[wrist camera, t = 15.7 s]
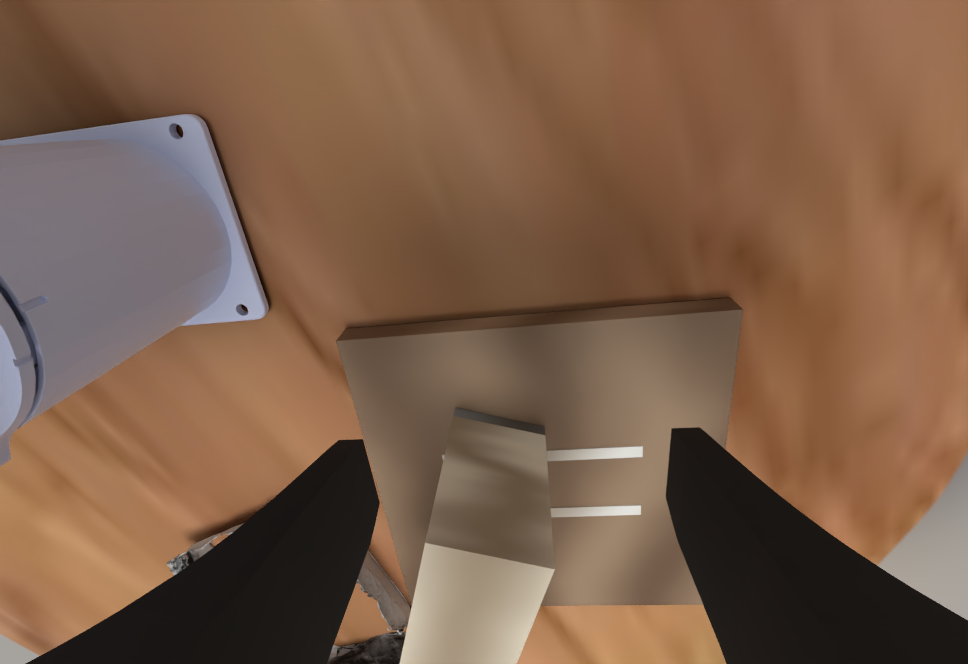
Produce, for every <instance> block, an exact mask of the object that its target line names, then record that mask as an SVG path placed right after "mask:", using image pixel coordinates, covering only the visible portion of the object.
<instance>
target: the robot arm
mask: <svg viewBox="0 0 968 664" xmlns="http://www.w3.org/2000/svg"><path fill="white" fill-rule="evenodd" d="M177 124H178V125H179V126H181V128H182V130H183V137H180V136H179V135H178V133H177V131H176V127H177ZM241 304H242V305H244V306H246V307H247V309H248V312H246V311H244V310H243V309H242V307H241ZM268 310H269V307H268V303H267V300H266V297H265V294H264V291H263V288H262V285H261V282H260V279H259V276H258V273H257V270H256V268H255V265H254V262H253V259H252V256H251V253H250V250H249V247H248V244H247V241H246V238H245V235H244V232H243V230H242V227H241V224H240V221H239V218H238V215H237V212H236V209H235V206H234V203H233V200H232V197H231V194H230V192H229V189H228V186H227V183H226V180H225V177H224V174H223V171H222V168H221V165H220V162H219V159H218V156H217V153H216V151H215V148H214V145H213V142H212V139H211V136H210V133H209V130H208V127H207V125H206V123H205V122H204V121H203V120H202V119H201V118H200V117H199V116H197V115H194V114H182V115H175V116H168V117H161V118H154V119H147V120H140V121H133V122H126V123H119V124H112V125H105V126H98V127H91V128H84V129H78V130H71V131H64V132H57V133H50V134H43V135H36V136H29V137H22V138H15V139H8V140H1V141H0V466H1V465H3V464H4V463H6V462H7V461H9V460H10V459H11V454H10V449H9V442H10V438H11V436H12V434H13V433H14V431H15V430H16V429H18V428H20V427H21V426H23V425H25V424H26V423H28V422H29V421H31V420H32V419H34V418H36V417H37V416H39V415H40V414H42V413H43V412H45V411H47V410H48V409H50V408H51V407H53V406H54V405H56V404H58V403H59V402H61V401H62V400H64V399H65V398H67V397H69V396H70V395H72V394H73V393H75V392H76V391H78V390H80V389H81V388H83V387H84V386H86V385H87V384H89V383H91V382H92V381H94V380H95V379H97V378H98V377H100V376H102V375H103V374H105V373H106V372H108V371H109V370H111V369H113V368H114V367H116V366H117V365H119V364H120V363H122V362H124V361H125V360H127V359H128V358H130V357H131V356H133V355H135V354H136V353H138V352H139V351H141V350H142V349H144V348H146V347H147V346H149V345H150V344H152V343H153V342H155V341H157V340H158V339H160V338H161V337H163V336H164V335H166V334H168V333H169V332H171V331H172V330H174V329H175V328H177V327H179V326H186V325H198V324H209V323H221V322H233V321H245V320H257V319H261V318H262V317H264V316H265V315H266V314H267V313H268ZM666 500H667V504H668V508H669V512H670V516H671V519H672V523H673V526H674V530H675V534H676V537H677V540H678V543H679V546H680V548H681V551H682V553H683V556H684V558H685V561H686V563H687V566H688V568H689V571H690V573H691V576H692V578H693V581H694V583H695V585H696V588H697V590H698V593H699V595H700V598H701V600H702V603H703V605H704V608H705V610H706V612H707V615H708V617H709V620H710V622H711V625H712V627H713V630H714V632H715V634H716V637H717V639H718V642H719V644H720V647H721V650H722V652H723V655H724V658H725V661H726V663H727V664H968V620H966V619H964V618H962V617H961V616H959V615H957V614H955V613H954V612H952V611H950V610H948V609H947V608H945V607H944V606H942V605H940V604H938V603H937V602H935V601H933V600H932V599H930V598H928V597H927V596H925V595H923V594H921V593H920V592H918V591H916V590H915V589H913V588H911V587H910V586H908V585H906V584H905V583H903V582H902V581H900V580H898V579H897V578H895V577H894V576H892V575H890V574H889V573H887V572H886V571H884V570H883V569H881V568H880V567H878V566H877V565H875V564H874V563H872V562H871V561H869V560H868V559H866V558H865V557H863V556H862V555H860V554H859V553H857V552H856V551H854V550H853V549H851V548H850V547H848V546H847V545H845V544H844V543H842V542H841V541H839V540H838V539H837V538H835V537H834V536H832V535H831V534H829V533H828V532H827V531H825V530H824V529H823V528H821V527H820V526H819V525H817V524H816V523H815V522H813V521H812V520H811V519H809V518H808V517H807V516H805V515H804V514H803V513H801V512H800V511H799V510H797V509H796V508H795V507H793V506H792V505H791V504H790V503H788V502H787V501H786V500H784V499H783V498H782V497H781V496H779V495H778V494H777V493H776V492H774V491H773V490H772V489H771V488H770V487H768V486H767V485H766V484H765V483H764V482H762V481H761V480H760V479H759V478H757V477H756V476H755V475H754V474H753V473H752V472H750V471H749V470H748V469H747V468H746V467H745V466H743V465H742V464H741V463H740V462H739V461H738V460H737V459H735V458H734V457H733V456H732V455H731V454H730V453H729V452H727V451H726V450H725V449H724V448H723V447H722V446H721V445H720V444H718V443H717V442H716V441H715V440H714V439H713V438H712V437H711V436H709V435H708V434H707V433H706V432H705V431H704V430H702V429H701V428H700V427H694V428H672V429H671V440H670V452H669V463H668V475H667V486H666ZM379 503H380V502H379V499H378V495H377V491H376V487H375V483H374V480H373V476H372V472H371V468H370V465H369V461H368V457H367V453H366V449H365V446H364V442H363V439H360V440H339V441H337V442H336V443H335V444H334V445H333V446H331V447H330V448H329V449H328V450H327V451H326V452H325V453H323V454H322V455H321V456H320V457H319V458H318V459H317V460H316V461H315V462H314V463H312V464H311V465H310V466H309V467H308V468H307V469H306V470H305V471H304V472H303V473H302V474H300V475H299V476H298V477H297V478H296V479H295V480H294V481H293V482H292V483H290V484H289V485H288V486H287V487H286V488H285V489H284V490H283V491H281V492H280V493H279V494H278V495H277V496H276V497H275V498H274V499H273V500H271V501H270V502H269V503H268V504H267V505H265V506H264V507H263V508H262V509H261V510H259V511H258V512H257V513H256V514H255V515H253V516H252V517H251V518H250V519H249V520H247V521H246V522H245V523H244V524H243V525H241V526H240V527H239V528H238V529H237V530H235V531H234V532H233V533H232V534H230V535H229V536H228V537H227V538H225V539H224V540H223V541H221V542H220V543H219V544H217V545H216V546H215V547H213V548H212V549H211V550H210V551H208V552H207V553H205V554H204V555H203V556H201V557H200V558H198V559H197V560H196V561H194V562H193V563H191V564H190V565H189V566H187V567H186V568H185V569H183V570H182V571H180V572H179V573H177V574H176V575H174V576H173V577H171V578H170V579H168V580H167V581H165V582H164V583H162V584H161V585H159V586H157V587H156V588H154V589H153V590H151V591H150V592H148V593H147V594H145V595H143V596H142V597H140V598H139V599H137V600H136V601H134V602H133V603H131V604H129V605H128V606H126V607H125V608H123V609H122V610H120V611H118V612H117V613H115V614H113V615H112V616H110V617H108V618H107V619H105V620H103V621H102V622H100V623H98V624H96V625H95V626H93V627H91V628H90V629H88V630H86V631H85V632H83V633H81V634H79V635H77V636H76V637H74V638H72V639H70V640H68V641H67V642H65V643H63V644H61V645H59V646H58V647H56V648H54V649H52V650H50V651H49V652H47V653H45V654H43V655H41V656H39V657H37V658H36V659H34V660H32V661H30V662H28V663H26V664H327V663H328V660H329V657H330V654H331V651H332V648H333V645H334V642H335V639H336V636H337V633H338V630H339V628H340V625H341V622H342V620H343V617H344V614H345V612H346V609H347V606H348V603H349V601H350V598H351V595H352V593H353V590H354V587H355V584H356V582H357V579H358V576H359V574H360V571H361V568H362V565H363V562H364V560H365V557H366V554H367V551H368V548H369V546H370V542H371V538H372V534H373V530H374V526H375V522H376V517H377V512H378V508H379Z"/></svg>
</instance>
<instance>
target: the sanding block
mask: <svg viewBox="0 0 968 664" xmlns="http://www.w3.org/2000/svg"><path fill="white" fill-rule="evenodd" d="M554 571H555V564H554V550H553V536H552V522H551V508H550V493H549V479H548V465H547V451H546V437H545V427H544V426H539V425H534V424H529V423H525V422H520V421H515V420H511V419H506V418H501V417H496V416H492V415H487V414H482V413H477V412H473V411H468V410H463V409H459V408H455V411H454V415H453V420H452V424H451V429H450V433H449V438H448V442H447V447H446V451H445V456H444V460H443V465H442V469H441V474H440V478H439V483H438V487H437V492H436V496H435V501H434V505H433V510H432V514H431V519H430V523H429V528H428V532H427V537H426V541H425V546H424V550H423V555H422V560H421V565H420V569H419V574H418V579H417V584H416V588H415V593H414V598H413V603H412V607H411V612H410V617H409V622H408V626H407V631H406V636H405V641H404V645H403V650H402V655H401V659H400V664H517V662H518V659H519V657H520V654H521V652H522V649H523V647H524V644H525V642H526V639H527V637H528V634H529V632H530V630H531V627H532V625H533V622H534V620H535V617H536V615H537V612H538V610H539V607H540V605H541V602H542V600H543V598H544V595H545V593H546V590H547V588H548V585H549V583H550V580H551V578H552V575H553V573H554Z"/></svg>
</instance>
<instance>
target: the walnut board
mask: <svg viewBox="0 0 968 664" xmlns="http://www.w3.org/2000/svg"><path fill="white" fill-rule="evenodd" d="M742 313H743V309H742V308H741V307H740V306H739V305H738V304H736V303H735V302H734V301H733V300H732V299H731V298H721V299H708V300H696V301H684V302H671V303H659V304H646V305H634V306H621V307H609V308H597V309H584V310H572V311H559V312H547V313H535V314H522V315H510V316H497V317H485V318H473V319H460V320H448V321H435V322H423V323H411V324H398V325H386V326H373V327H361V328H348V329H345V330H344V332H343V333H342V334H341V336H340V337H339V338H338V339H337V341H336V342H337V346H338V349H339V353H340V357H341V360H342V364H343V367H344V371H345V374H346V378H347V381H348V385H349V388H350V392H351V395H352V399H353V402H354V406H355V409H356V413H357V416H358V420H359V423H360V427H361V430H362V434H363V437H364V441H365V444H366V448H367V451H368V455H369V458H370V462H371V465H372V469H373V472H374V476H375V479H376V483H377V486H378V490H379V493H380V497H381V500H382V504H383V507H384V511H385V514H386V518H387V521H388V525H389V528H390V532H391V535H392V539H393V542H394V546H395V549H396V553H397V556H398V560H399V563H400V567H401V570H402V574H403V577H404V581H405V584H406V588H407V591H408V595H409V598H410V602H411V606H412V603H413V598H414V593H415V588H416V584H417V579H418V574H419V569H420V565H421V560H422V555H423V550H424V546H425V541H426V537H427V532H428V528H429V523H430V519H431V514H432V510H433V505H434V501H435V496H436V492H437V487H438V483H439V478H440V474H441V469H442V465H443V460H444V456H445V451H446V447H447V442H448V438H449V433H450V429H451V424H452V420H453V415H454V411H455V408H459V409H463V410H468V411H473V412H477V413H482V414H487V415H492V416H496V417H501V418H506V419H511V420H515V421H520V422H525V423H529V424H534V425H539V426H544V427H545V437H546V451H547V465H548V479H549V493H550V508H551V522H552V536H553V550H554V564H555V571H554V573H553V575H552V578H551V580H550V583H549V585H548V588H547V590H546V593H545V595H544V598H543V600H542V602H541V605H540V606H578V605H703V603H702V600H701V598H700V595H699V593H698V590H697V588H696V585H695V583H694V581H693V578H692V576H691V573H690V571H689V568H688V566H687V563H686V561H685V558H684V556H683V553H682V551H681V548H680V546H679V543H678V540H677V537H676V534H675V530H674V526H673V523H672V519H671V516H670V512H669V508H668V504H667V500H666V486H667V475H668V463H669V452H670V440H671V429H672V428H694V427H700V428H701V429H702V430H704V431H705V432H706V433H707V434H708V435H709V436H711V437H712V438H713V439H714V440H715V441H716V442H717V443H718V444H720V445H721V446H722V447H723V448H724V449H725V448H726V440H727V432H728V424H729V416H730V408H731V400H732V392H733V385H734V377H735V369H736V361H737V353H738V345H739V337H740V329H741V321H742Z"/></svg>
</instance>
